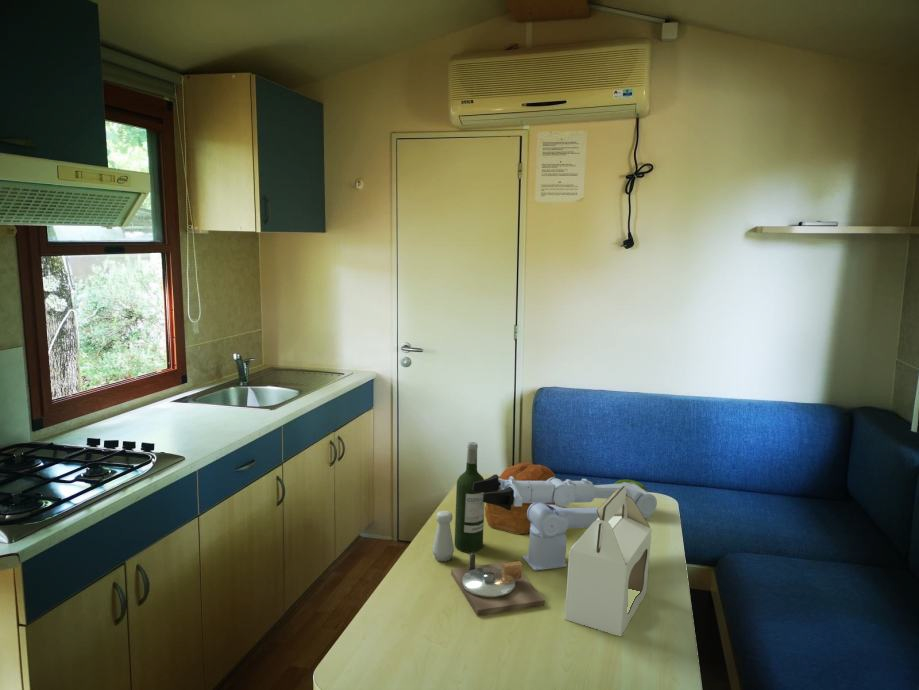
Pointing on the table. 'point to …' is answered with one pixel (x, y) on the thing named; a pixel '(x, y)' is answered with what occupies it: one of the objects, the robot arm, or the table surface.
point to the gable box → (609, 566)
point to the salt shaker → (443, 537)
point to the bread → (517, 515)
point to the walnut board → (516, 600)
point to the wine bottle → (469, 506)
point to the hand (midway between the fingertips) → (478, 492)
